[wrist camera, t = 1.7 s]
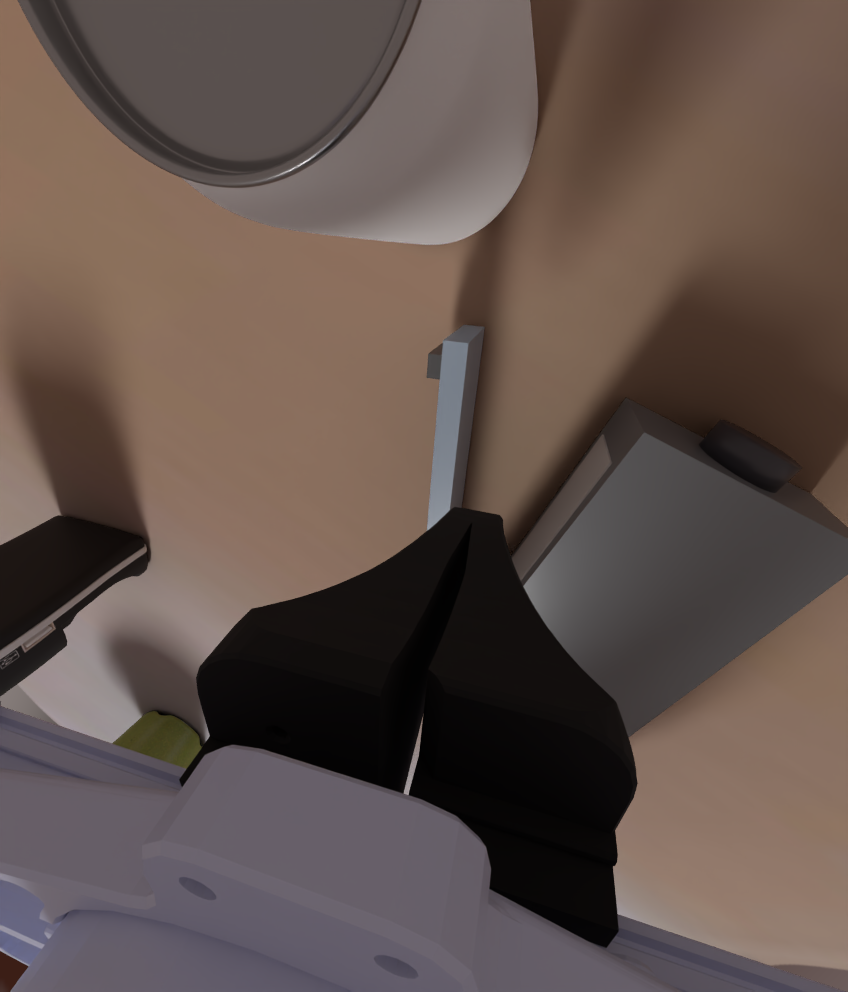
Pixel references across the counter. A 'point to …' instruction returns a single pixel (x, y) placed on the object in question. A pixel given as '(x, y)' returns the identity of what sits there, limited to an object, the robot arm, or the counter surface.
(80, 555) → the battery charger
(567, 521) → the grey rectangular box
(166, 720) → the plant pot
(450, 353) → the grey bar handle
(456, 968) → the robot arm
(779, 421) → the counter surface
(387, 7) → the can
